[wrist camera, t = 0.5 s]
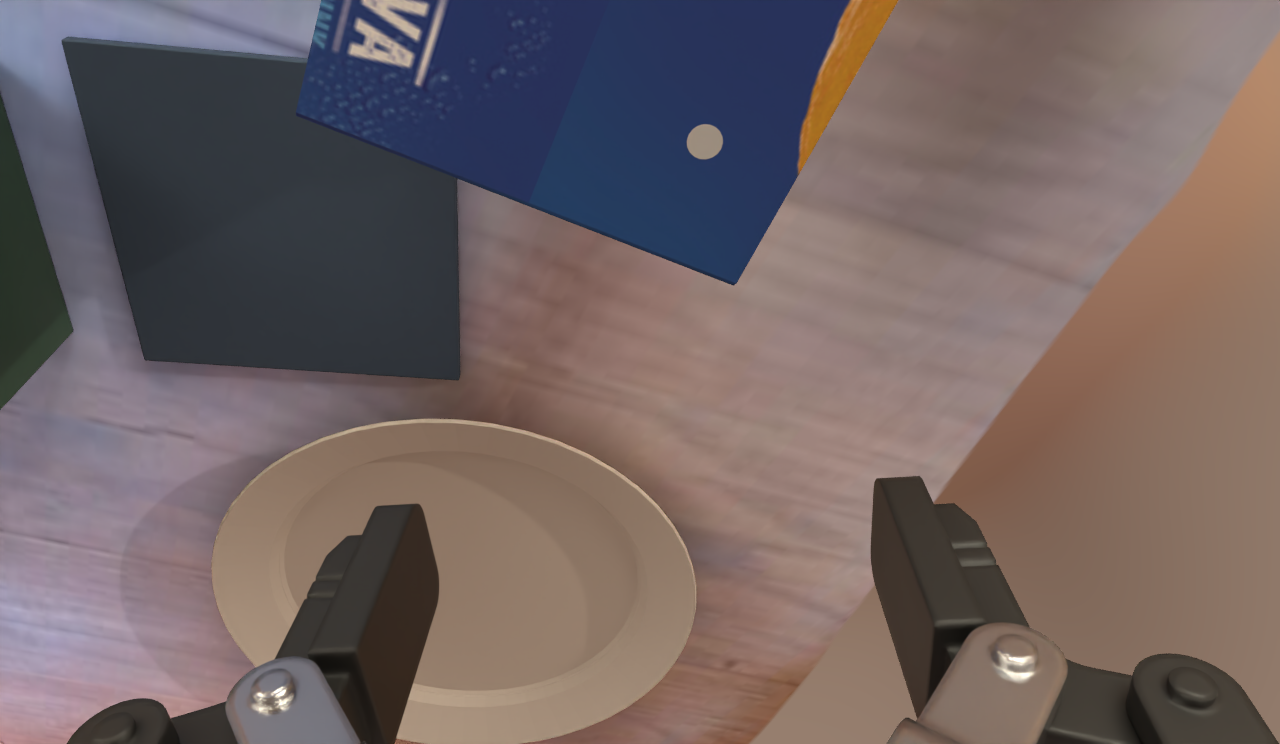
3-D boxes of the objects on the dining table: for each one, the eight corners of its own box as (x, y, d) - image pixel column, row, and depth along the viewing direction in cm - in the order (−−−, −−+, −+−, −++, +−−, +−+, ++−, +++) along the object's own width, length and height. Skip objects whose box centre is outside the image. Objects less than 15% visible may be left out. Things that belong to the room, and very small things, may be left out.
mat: (67, 36, 32) (60, 39, 32) (455, 71, 34) (453, 75, 33) (148, 354, 40) (144, 360, 40) (460, 374, 41) (459, 381, 41)
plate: (652, 732, 58) (653, 760, 56) (245, 702, 55) (234, 731, 53) (740, 427, 44) (745, 453, 42) (197, 365, 41) (180, 391, 39)
